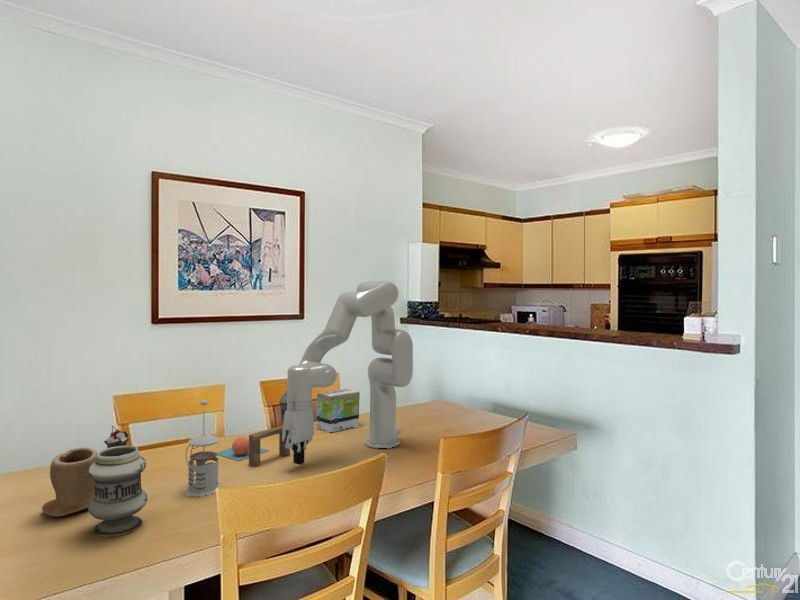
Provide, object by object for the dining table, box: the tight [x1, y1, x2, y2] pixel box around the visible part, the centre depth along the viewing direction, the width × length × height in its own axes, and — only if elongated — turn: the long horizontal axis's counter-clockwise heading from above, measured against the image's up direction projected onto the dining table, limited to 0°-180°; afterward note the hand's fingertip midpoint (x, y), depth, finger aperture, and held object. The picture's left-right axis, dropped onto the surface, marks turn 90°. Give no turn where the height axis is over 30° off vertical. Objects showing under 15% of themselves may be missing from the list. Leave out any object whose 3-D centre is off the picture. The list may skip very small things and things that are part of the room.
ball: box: [231, 436, 249, 456], centre depth 171 cm, size 6×6×6 cm
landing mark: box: [216, 447, 270, 462], centre depth 174 cm, size 13×13×1 cm
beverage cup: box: [279, 380, 287, 426], centre depth 201 cm, size 7×7×20 cm
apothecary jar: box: [87, 445, 148, 538], centre depth 118 cm, size 12×12×18 cm
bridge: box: [248, 425, 291, 468], centre depth 167 cm, size 3×15×10 cm, turn 147°
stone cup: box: [41, 447, 98, 517], centre depth 128 cm, size 15×12×15 cm
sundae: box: [104, 425, 130, 449], centre depth 153 cm, size 7×7×15 cm
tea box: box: [315, 388, 361, 433], centre depth 208 cm, size 15×10×15 cm
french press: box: [184, 399, 222, 497], centre depth 141 cm, size 10×12×25 cm
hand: (298, 463), depth 160 cm, fingers closed
